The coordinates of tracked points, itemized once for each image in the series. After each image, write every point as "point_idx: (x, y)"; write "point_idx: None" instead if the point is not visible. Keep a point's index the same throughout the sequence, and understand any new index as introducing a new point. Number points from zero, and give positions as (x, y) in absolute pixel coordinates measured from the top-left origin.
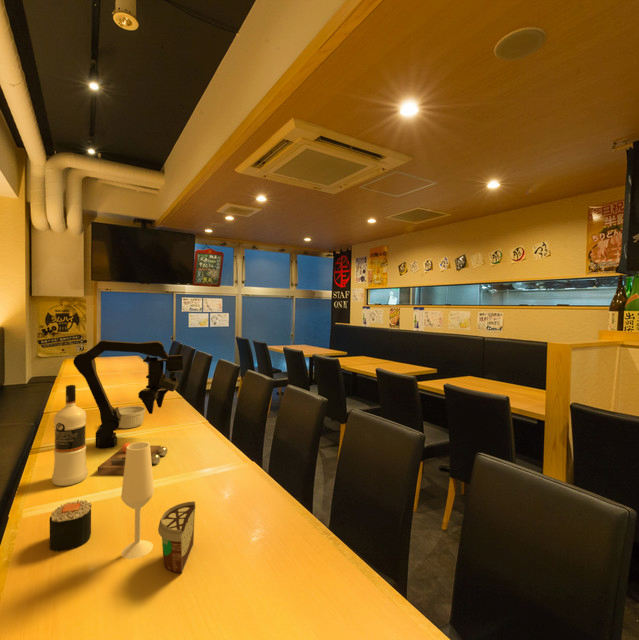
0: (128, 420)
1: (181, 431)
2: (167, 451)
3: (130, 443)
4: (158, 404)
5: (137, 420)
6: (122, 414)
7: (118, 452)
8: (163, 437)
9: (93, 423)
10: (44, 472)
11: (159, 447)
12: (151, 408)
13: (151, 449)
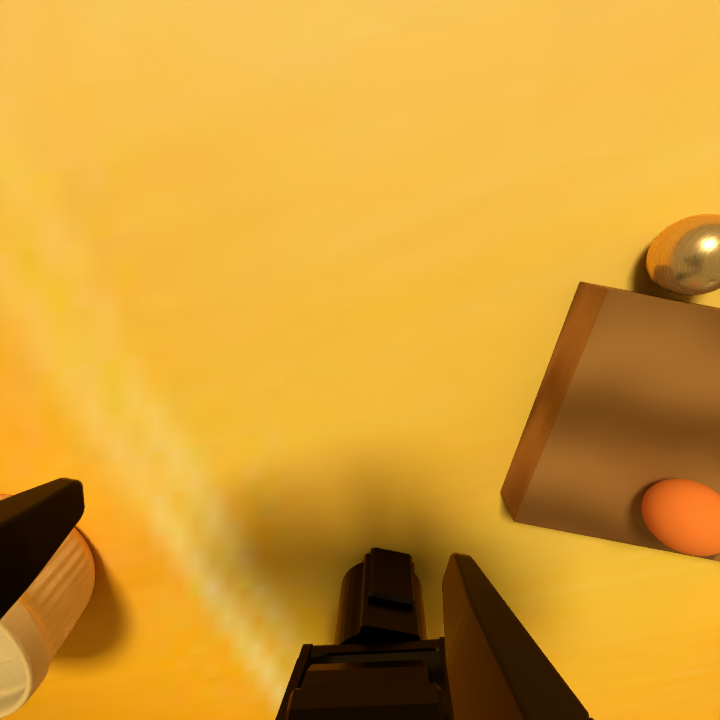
0: (56, 591)
1: (124, 186)
2: (706, 214)
3: (705, 517)
4: (41, 554)
5: None
6: (32, 670)
7: (641, 534)
8: (265, 312)
9: (37, 689)
10: (651, 717)
11: (633, 293)
12: (537, 667)
13: (675, 346)
